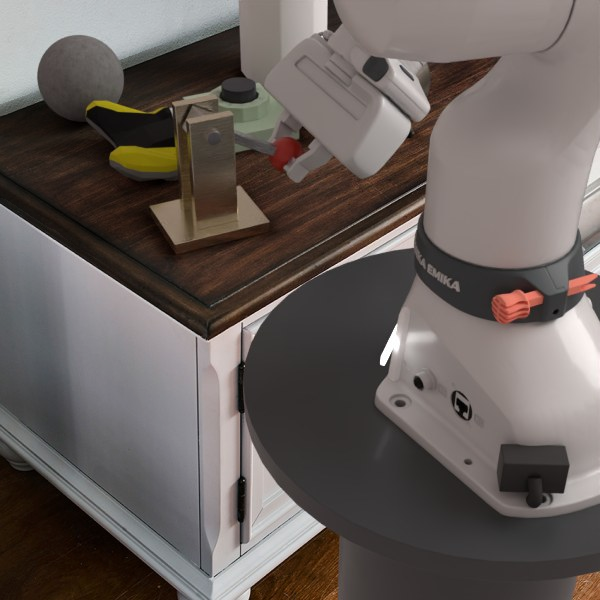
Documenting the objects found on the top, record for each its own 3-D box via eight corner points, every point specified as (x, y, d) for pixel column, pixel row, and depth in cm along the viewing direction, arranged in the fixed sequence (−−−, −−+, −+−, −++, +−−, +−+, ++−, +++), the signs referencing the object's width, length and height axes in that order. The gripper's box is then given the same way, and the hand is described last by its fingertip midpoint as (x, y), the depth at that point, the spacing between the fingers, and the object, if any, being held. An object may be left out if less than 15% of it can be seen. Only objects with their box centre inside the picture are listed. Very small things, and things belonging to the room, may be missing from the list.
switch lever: (285, 167, 107) (301, 136, 106) (299, 182, 105) (316, 151, 104) (176, 129, 100) (192, 96, 98) (189, 145, 97) (205, 111, 96)
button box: (299, 139, 120) (299, 107, 118) (219, 156, 117) (217, 124, 114) (259, 98, 129) (258, 68, 126) (183, 113, 125) (181, 83, 123)
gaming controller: (118, 203, 108) (209, 185, 111) (112, 157, 105) (206, 139, 108) (86, 142, 119) (169, 127, 122) (80, 98, 116) (165, 83, 119)
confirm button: (261, 101, 120) (261, 87, 119) (229, 108, 118) (228, 94, 117) (248, 88, 123) (248, 74, 122) (216, 94, 121) (216, 80, 120)
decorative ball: (132, 130, 122) (123, 50, 116) (46, 140, 120) (33, 59, 114) (122, 95, 130) (114, 18, 124) (41, 104, 128) (29, 26, 122)
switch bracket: (240, 195, 110) (235, 82, 102) (270, 231, 104) (267, 115, 96) (150, 215, 106) (138, 101, 99) (175, 254, 100) (165, 136, 93)
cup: (245, 54, 140) (239, -86, 129) (327, 56, 139) (329, -85, 129) (237, 89, 131) (231, -58, 120) (325, 91, 130) (327, -57, 120)
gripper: (304, 7, 108) (220, 109, 110) (402, 81, 93) (302, 197, 95) (341, 41, 112) (259, 139, 114) (439, 117, 97) (343, 228, 99)
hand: (279, 166), depth 105 cm, fingers closed on switch lever, 3 cm apart
